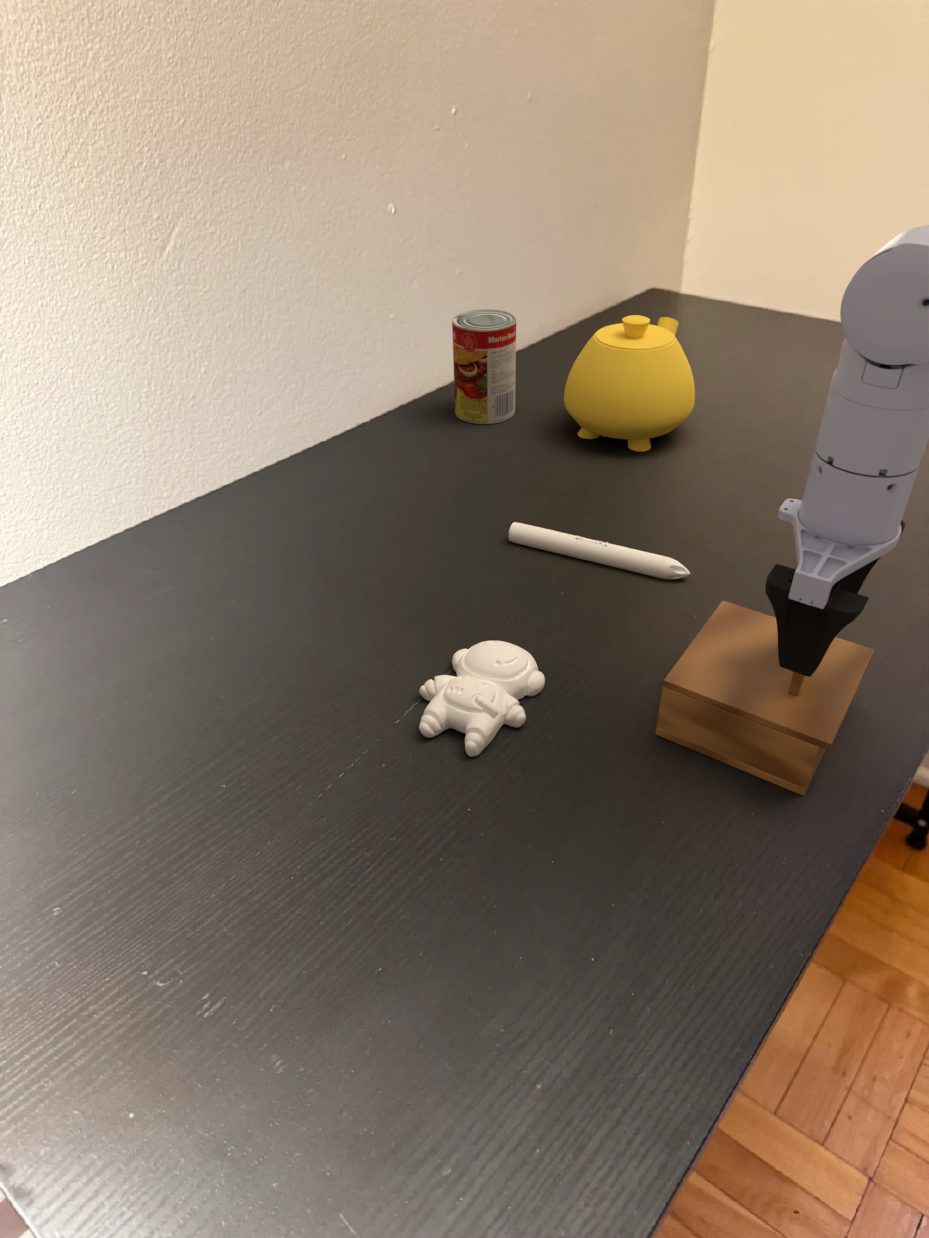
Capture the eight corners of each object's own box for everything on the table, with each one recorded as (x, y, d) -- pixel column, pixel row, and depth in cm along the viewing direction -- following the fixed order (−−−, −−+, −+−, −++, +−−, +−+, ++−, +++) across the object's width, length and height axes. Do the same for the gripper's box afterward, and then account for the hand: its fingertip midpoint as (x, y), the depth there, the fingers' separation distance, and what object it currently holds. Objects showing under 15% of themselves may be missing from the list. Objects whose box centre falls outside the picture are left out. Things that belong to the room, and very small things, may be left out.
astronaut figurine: (391, 724, 64) (387, 695, 62) (476, 641, 72) (475, 612, 70) (488, 770, 60) (488, 740, 58) (567, 676, 68) (569, 647, 66)
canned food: (480, 395, 115) (478, 305, 107) (527, 409, 110) (529, 316, 103) (442, 414, 110) (438, 321, 102) (490, 429, 106) (490, 334, 98)
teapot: (611, 385, 116) (619, 282, 108) (720, 408, 109) (739, 299, 101) (539, 439, 103) (543, 326, 95) (659, 469, 96) (674, 350, 88)
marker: (691, 577, 79) (695, 556, 78) (686, 589, 78) (689, 567, 76) (516, 535, 86) (516, 515, 84) (508, 545, 84) (508, 525, 83)
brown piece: (873, 655, 62) (888, 612, 59) (829, 750, 54) (844, 705, 52) (721, 606, 67) (729, 564, 65) (662, 686, 60) (669, 642, 57)
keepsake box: (848, 700, 65) (864, 653, 62) (803, 796, 57) (819, 747, 55) (712, 652, 70) (721, 606, 67) (654, 734, 62) (662, 686, 60)
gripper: (831, 398, 56) (787, 570, 64) (756, 488, 46) (717, 675, 54) (947, 422, 52) (886, 599, 60) (893, 523, 43) (829, 717, 51)
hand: (813, 638), depth 57 cm, fingers open, 7 cm apart
